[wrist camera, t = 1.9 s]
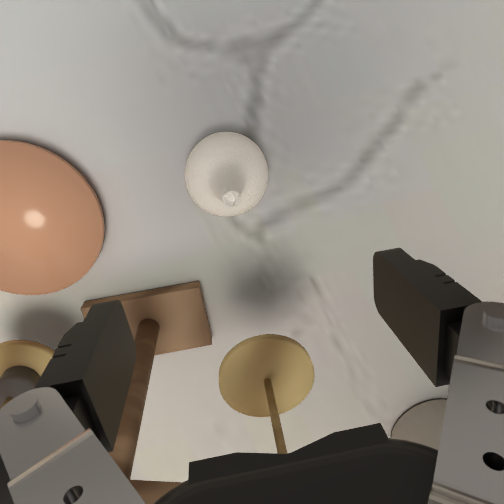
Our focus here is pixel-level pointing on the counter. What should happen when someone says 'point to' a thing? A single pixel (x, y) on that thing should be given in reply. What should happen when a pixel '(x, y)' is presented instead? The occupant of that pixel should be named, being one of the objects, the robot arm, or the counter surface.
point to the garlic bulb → (226, 174)
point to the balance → (170, 340)
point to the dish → (45, 221)
